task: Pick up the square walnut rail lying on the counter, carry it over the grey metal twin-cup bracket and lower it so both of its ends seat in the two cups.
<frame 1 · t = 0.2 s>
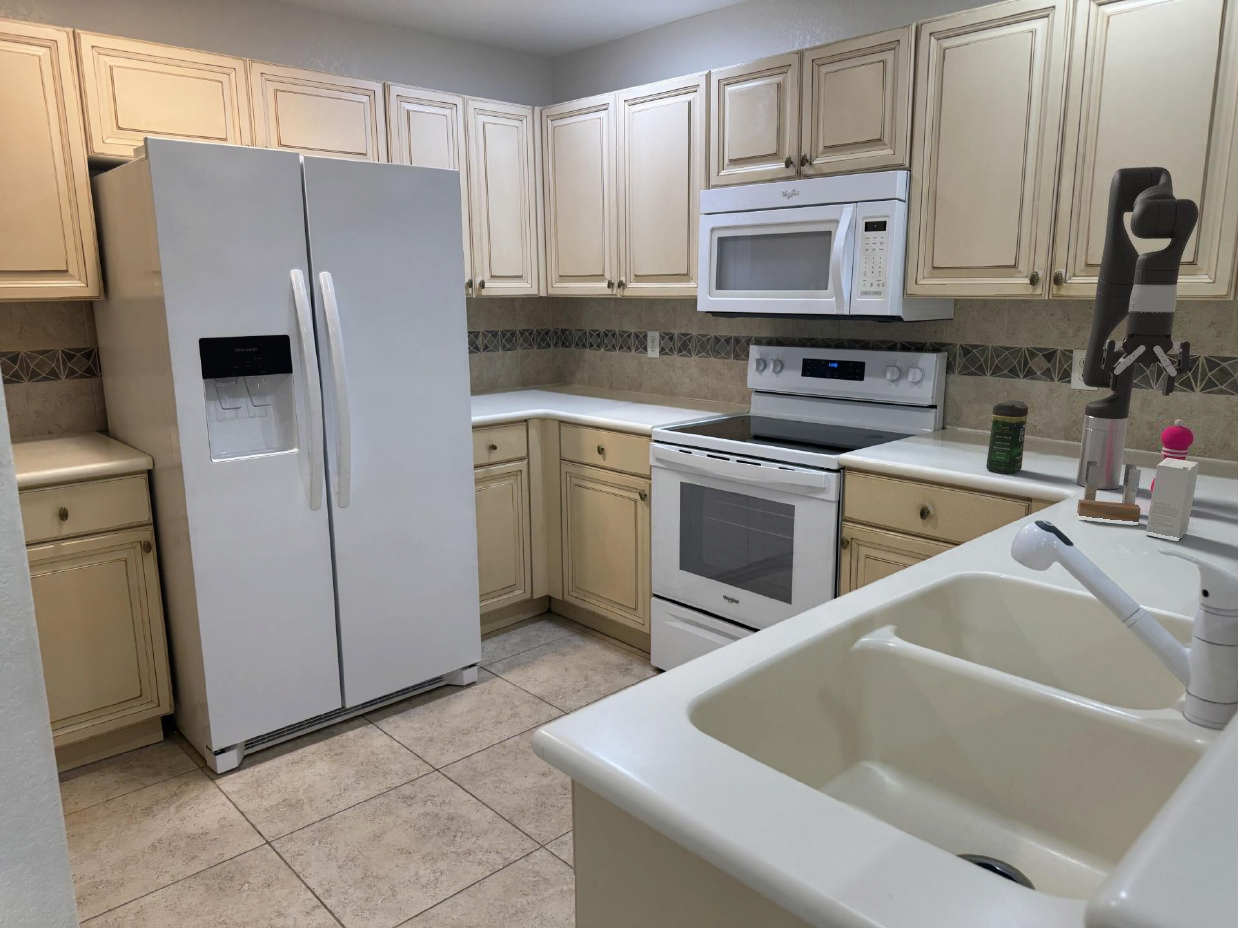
hand: (1140, 394, 167), 28 cm above the counter, tool pointing down, fingers open, 8 cm apart
bracket: (1107, 511, 189), on the counter
rail: (1106, 522, 181), on the counter
skincare box: (1166, 536, 171), on the counter
pepper mill: (1166, 509, 191), on the counter
coffee jar: (1003, 471, 228), on the counter
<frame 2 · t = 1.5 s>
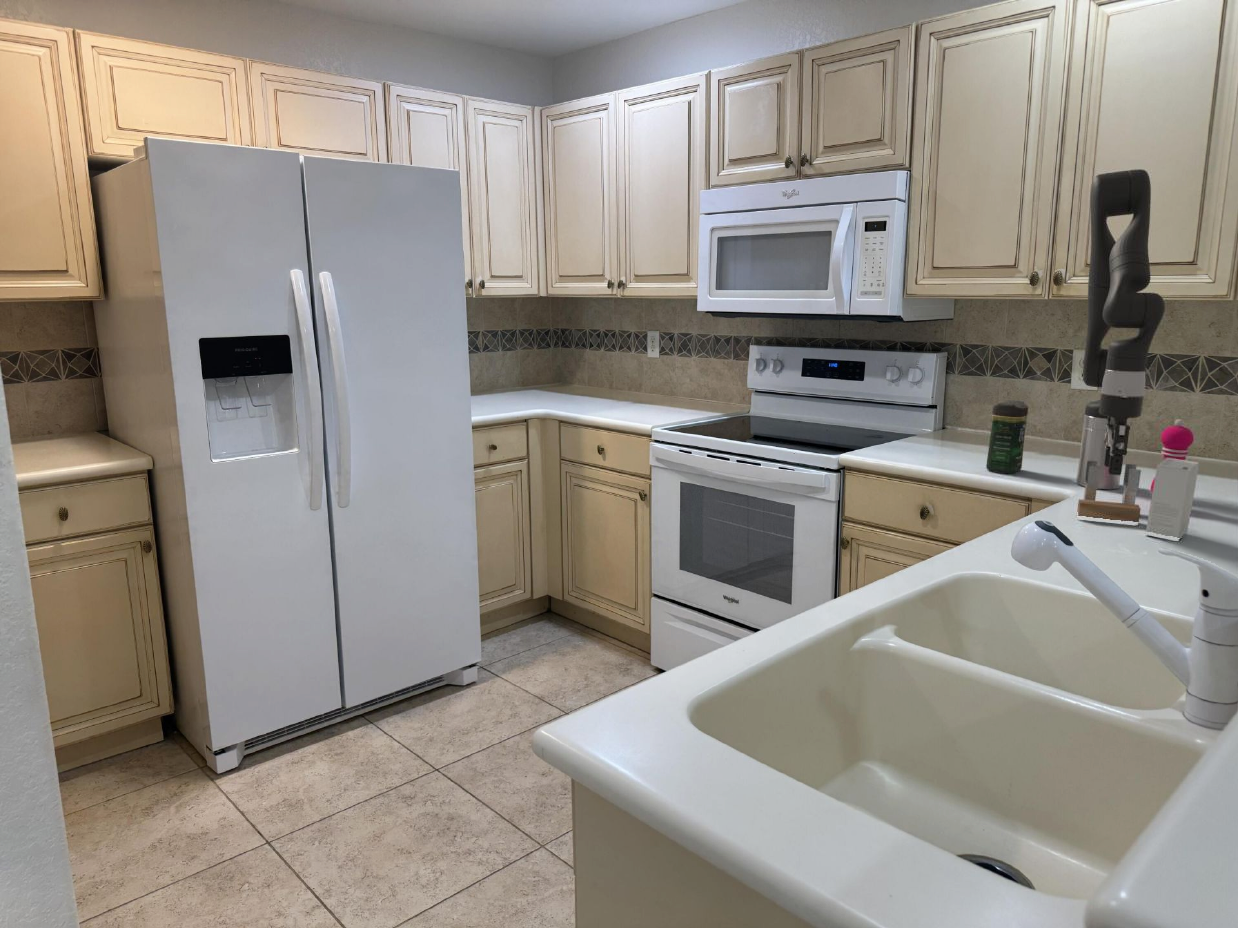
hand: (1112, 470, 179), 11 cm above the counter, tool pointing down, fingers open, 8 cm apart
nothing on the counter moved.
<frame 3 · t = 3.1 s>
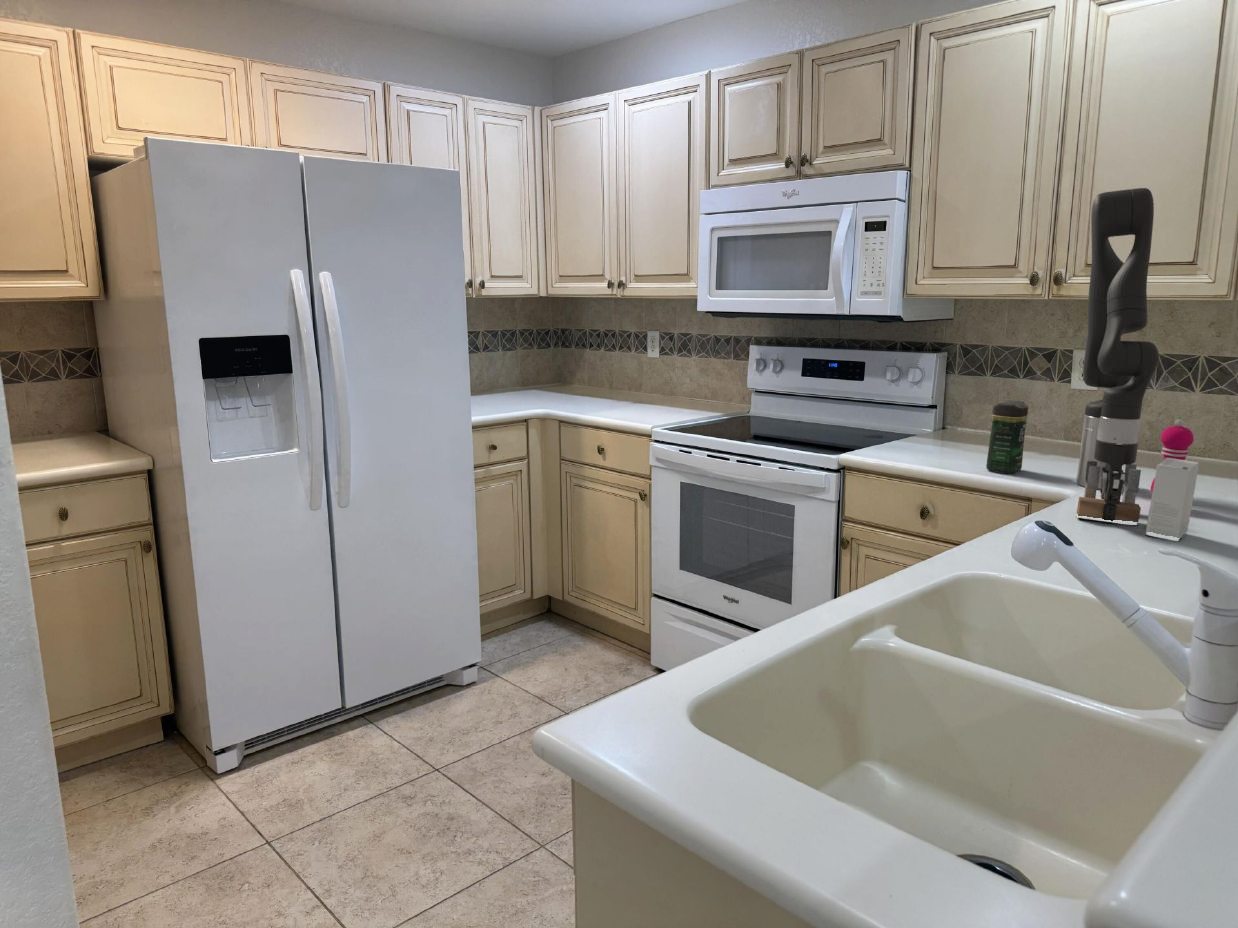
hand: (1106, 519, 181), 0 cm above the counter, tool pointing down, fingers closed on rail, 3 cm apart
rail: (1106, 520, 181), on the counter, touching gripper
everything else where it was.
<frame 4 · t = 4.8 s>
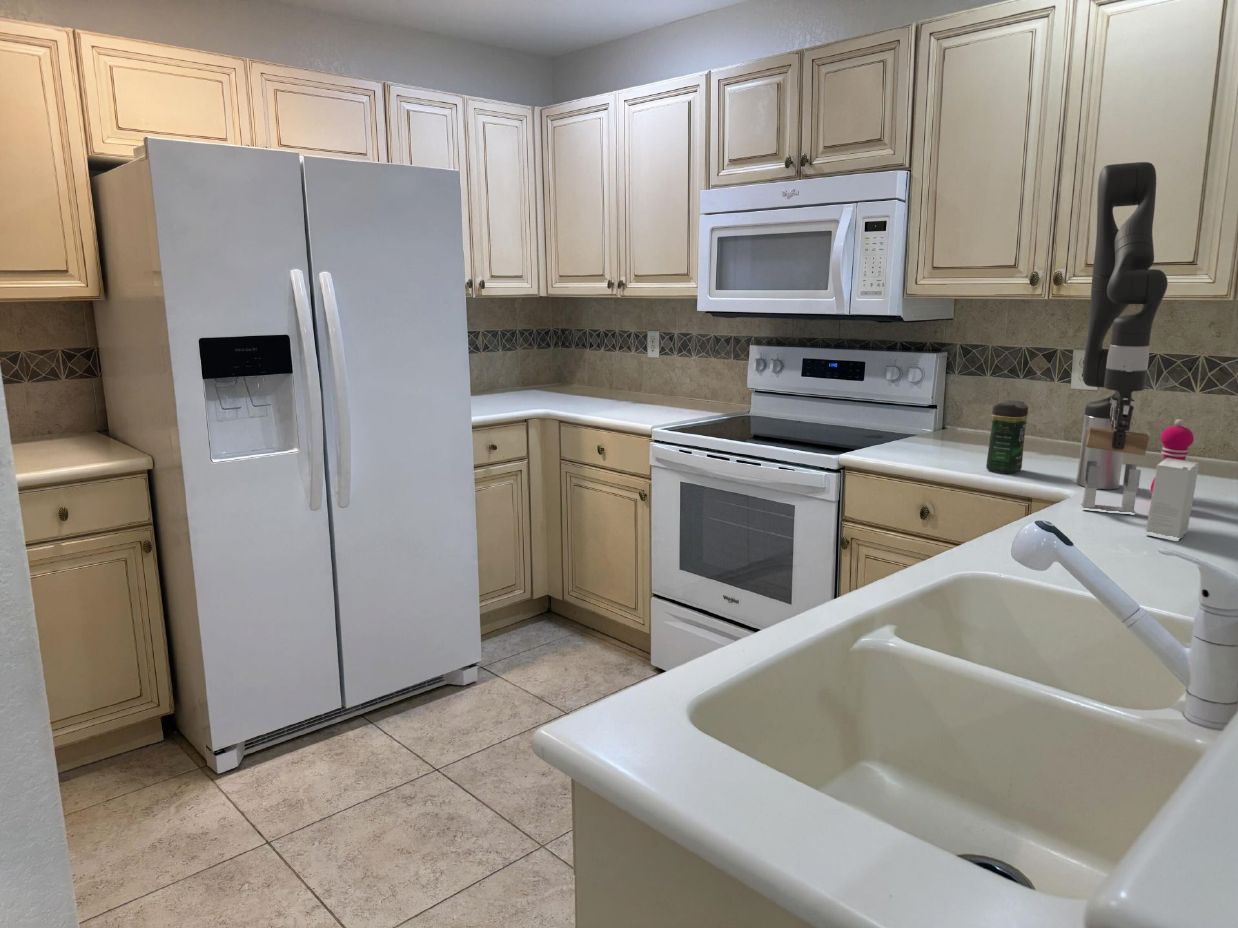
hand: (1116, 446, 185), 15 cm above the counter, tool pointing down, fingers closed on rail, 3 cm apart
rail: (1114, 449, 185), point 14 cm above the counter, touching gripper
everything else where it was.
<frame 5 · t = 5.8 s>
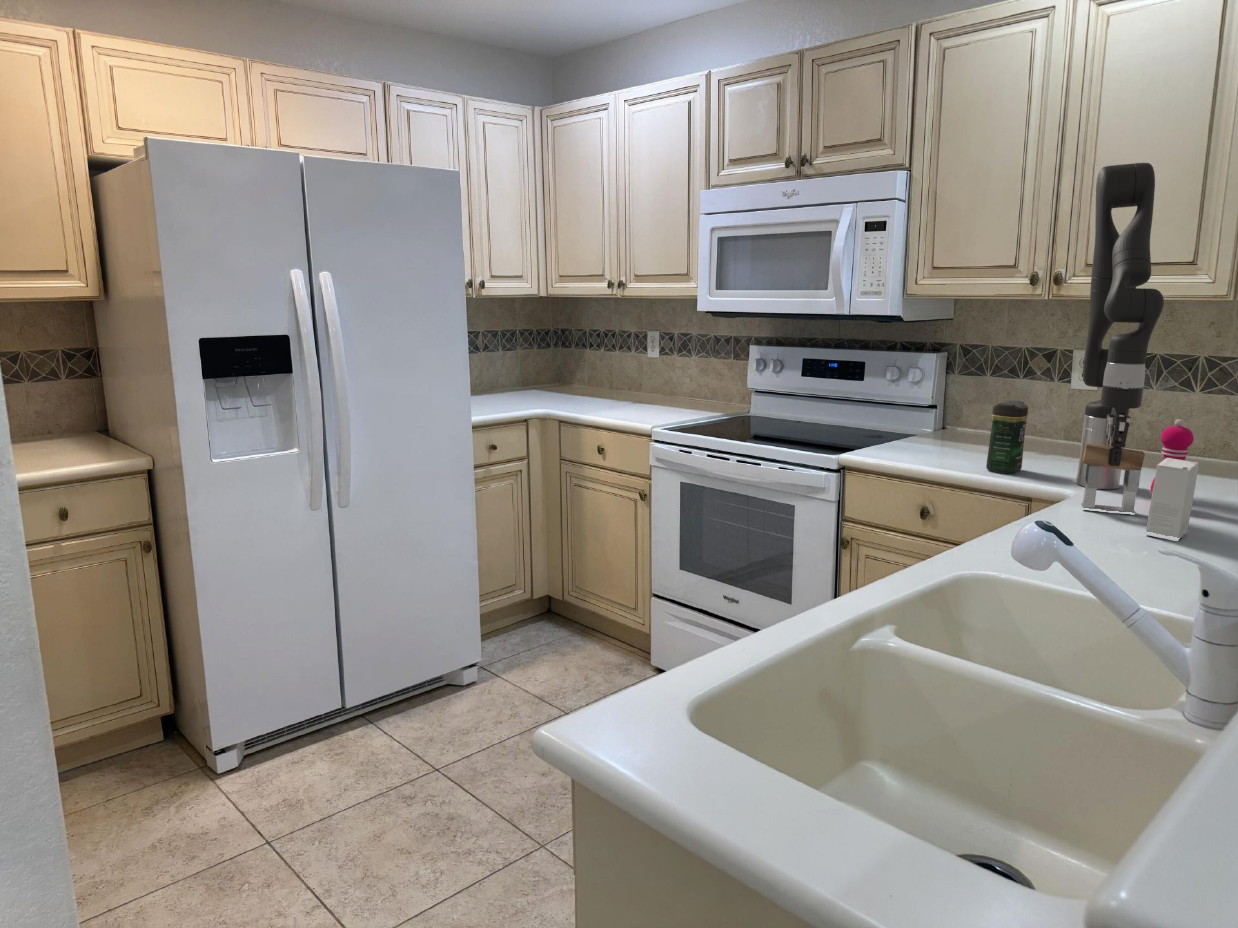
hand: (1112, 463, 186), 11 cm above the counter, tool pointing down, fingers closed on rail, 3 cm apart
rail: (1110, 466, 187), point 10 cm above the counter, tilted 5°, touching gripper
everything else where it was.
when the fingers open (8 cm above the counter, at t = 6.5 s): rail drops 1 cm, resting on bracket.
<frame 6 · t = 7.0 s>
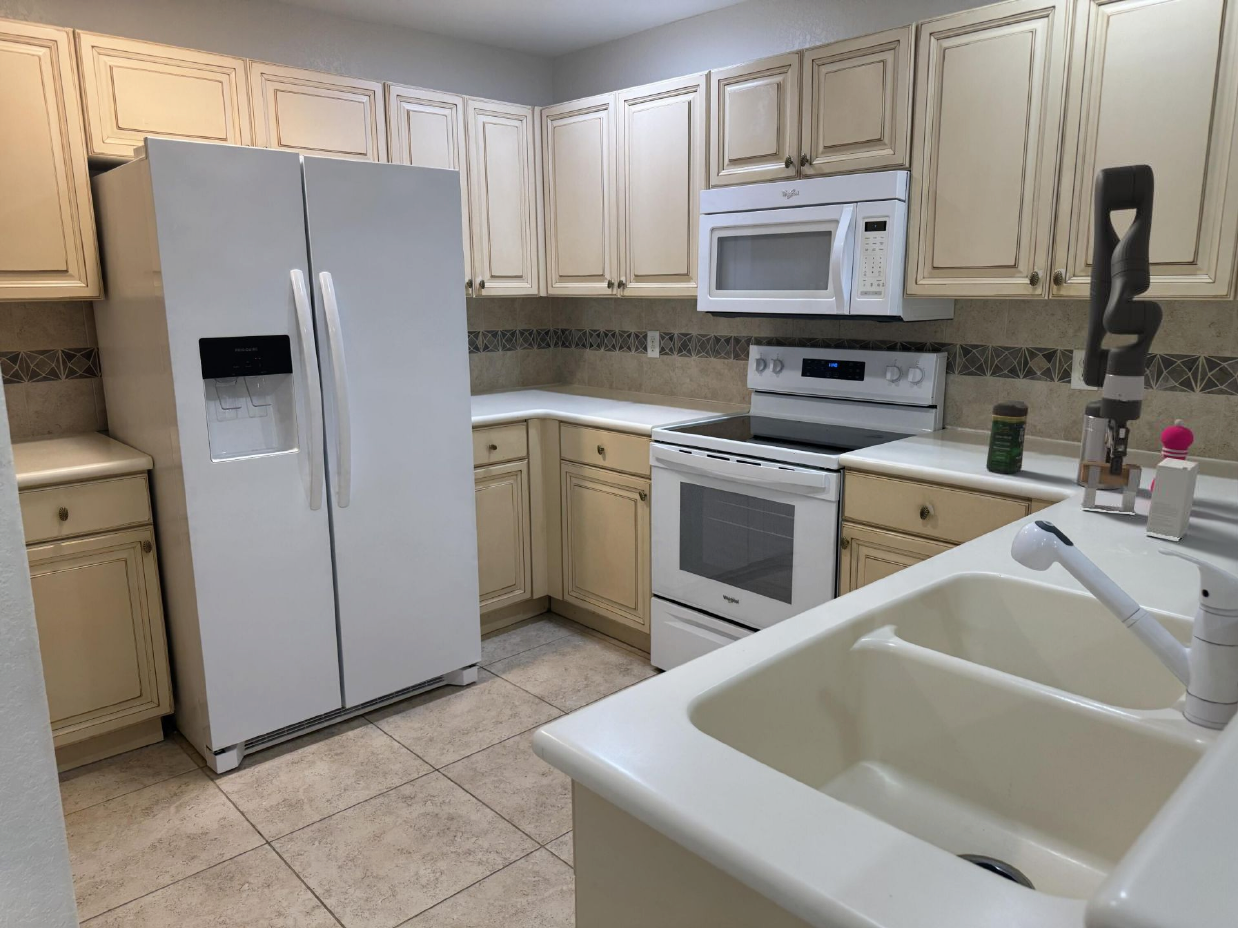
hand: (1112, 471, 187), 9 cm above the counter, tool pointing down, fingers open, 8 cm apart
rail: (1109, 483, 187), point 6 cm above the counter, touching bracket
everything else where it was.
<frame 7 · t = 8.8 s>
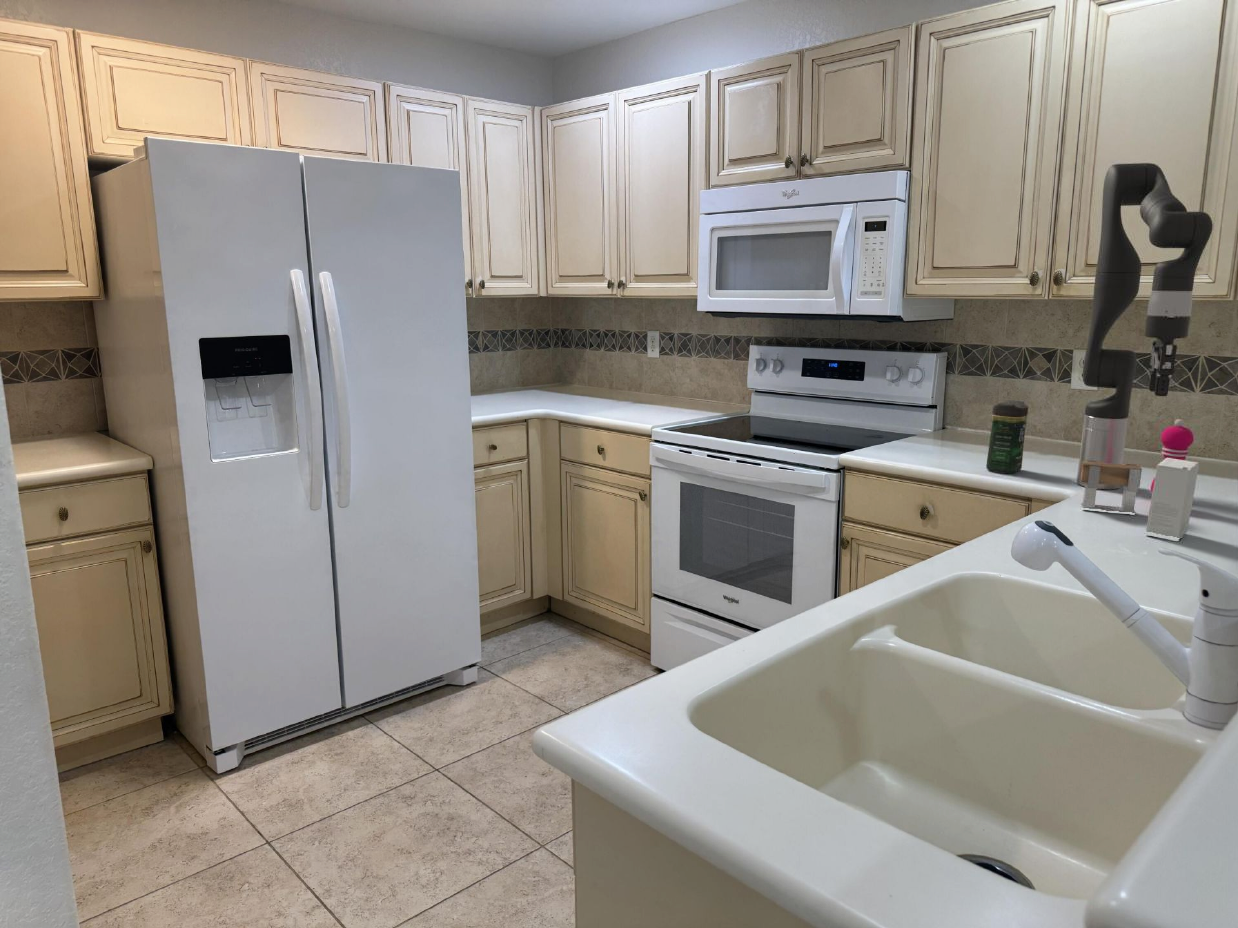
hand: (1157, 393, 178), 27 cm above the counter, tool pointing down, fingers open, 8 cm apart
nothing on the counter moved.
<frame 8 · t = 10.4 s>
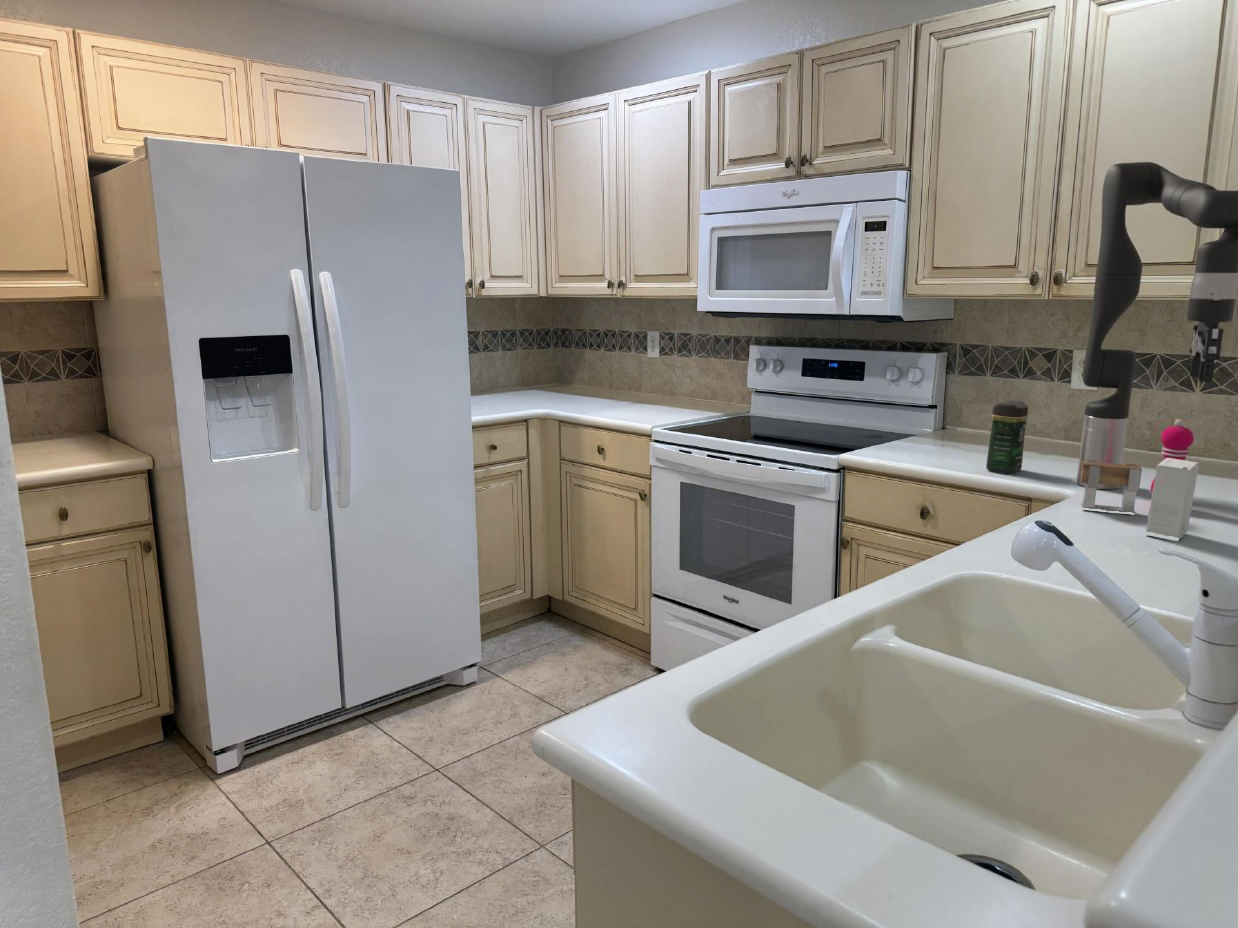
hand: (1200, 379, 172), 30 cm above the counter, tool pointing down, fingers open, 8 cm apart
nothing on the counter moved.
at the end: rail 0.4 cm off-centre on the bracket, point 6.3 cm above the bracket's base; rail tilted 0°; the gripper is holding nothing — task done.
